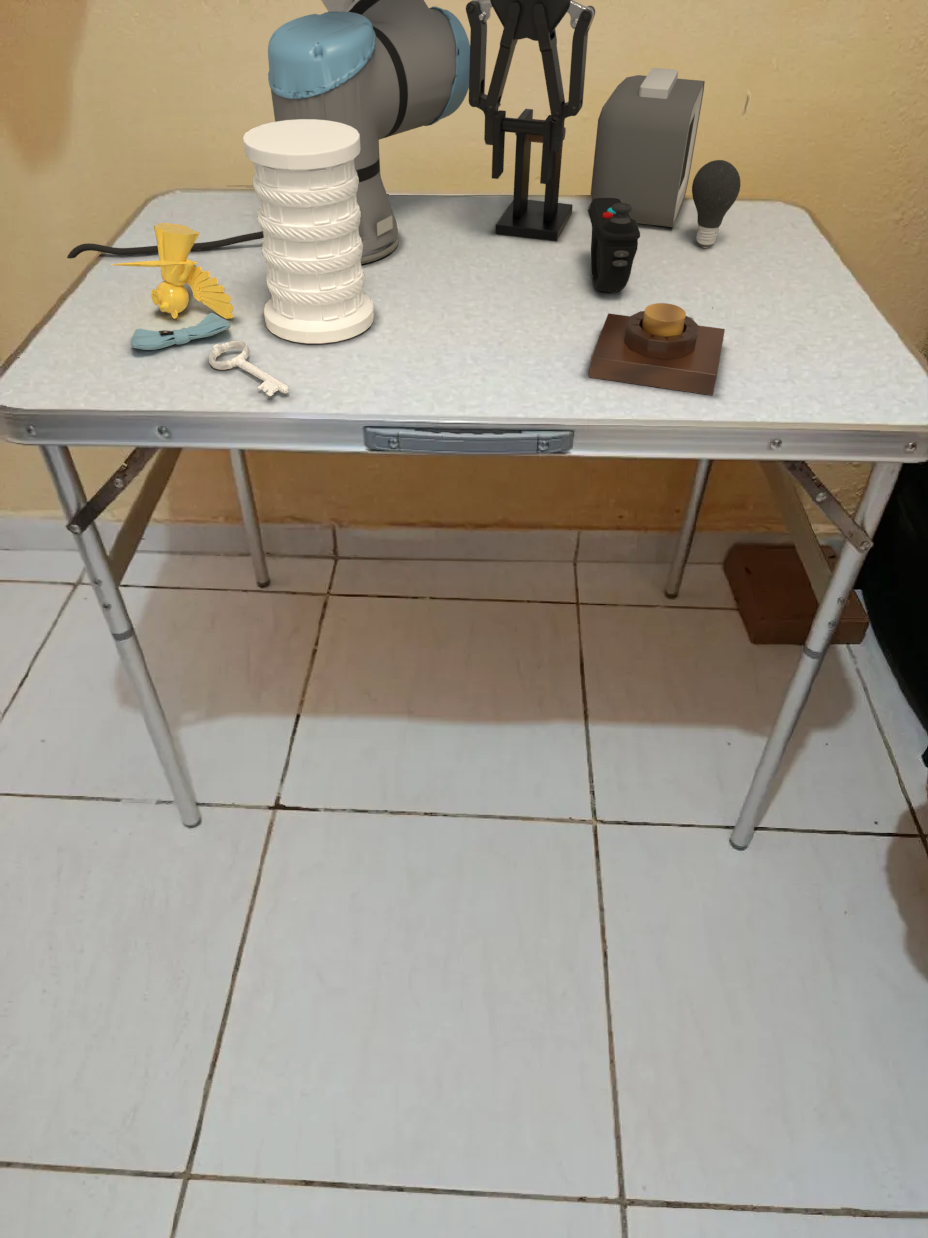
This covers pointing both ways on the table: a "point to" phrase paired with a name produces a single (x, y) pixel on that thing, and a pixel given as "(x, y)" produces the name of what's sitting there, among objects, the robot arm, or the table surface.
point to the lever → (524, 127)
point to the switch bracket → (532, 214)
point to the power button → (663, 319)
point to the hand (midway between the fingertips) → (521, 176)
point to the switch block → (658, 355)
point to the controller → (612, 243)
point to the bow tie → (178, 334)
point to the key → (245, 366)
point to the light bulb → (714, 197)
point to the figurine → (182, 274)
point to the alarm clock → (648, 144)
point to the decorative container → (310, 229)
